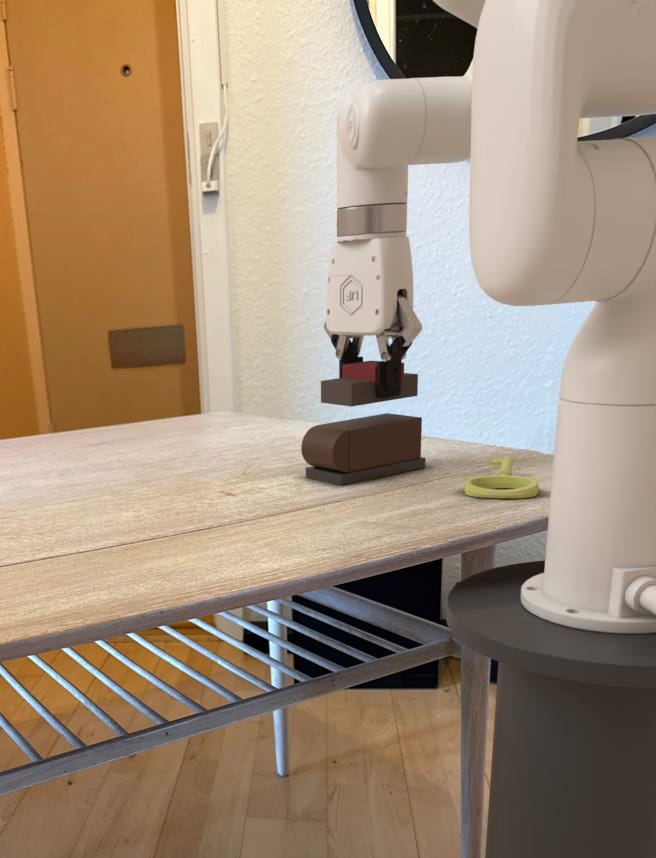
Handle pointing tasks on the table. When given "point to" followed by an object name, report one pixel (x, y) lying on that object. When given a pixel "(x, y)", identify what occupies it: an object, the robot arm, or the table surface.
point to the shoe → (363, 448)
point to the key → (502, 483)
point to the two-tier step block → (363, 385)
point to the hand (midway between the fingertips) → (369, 393)
